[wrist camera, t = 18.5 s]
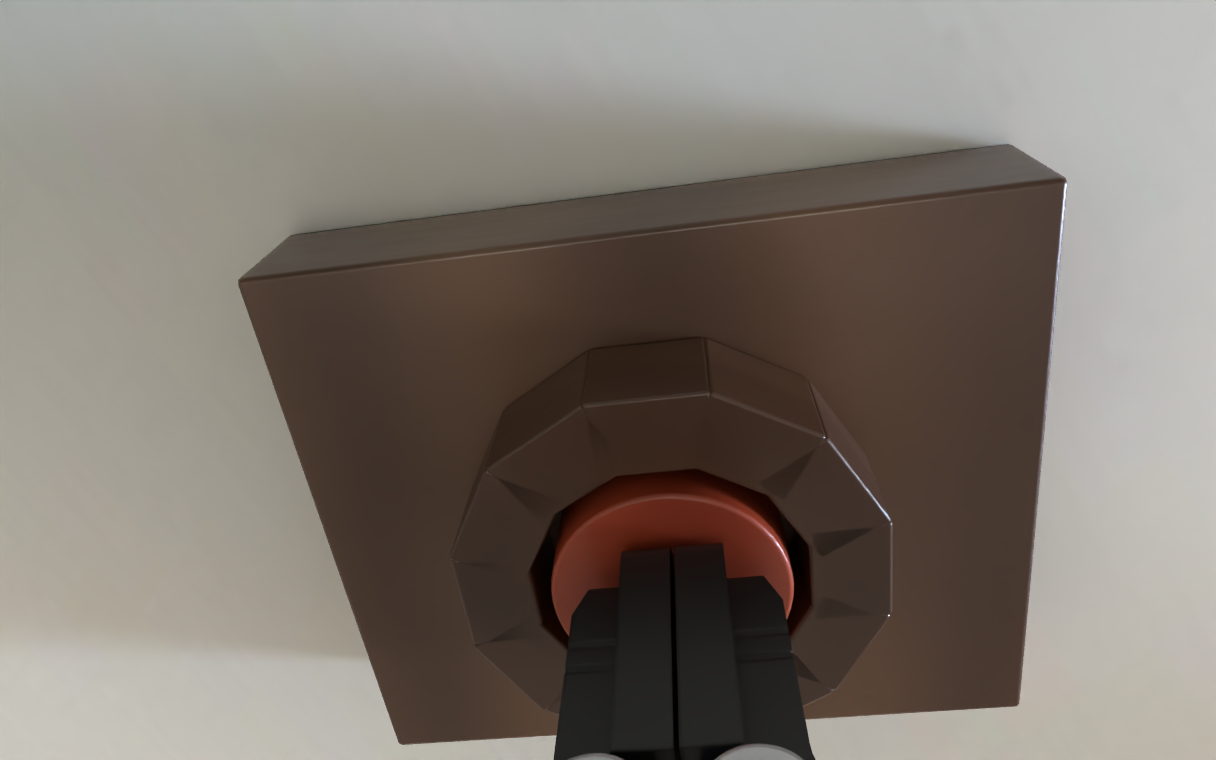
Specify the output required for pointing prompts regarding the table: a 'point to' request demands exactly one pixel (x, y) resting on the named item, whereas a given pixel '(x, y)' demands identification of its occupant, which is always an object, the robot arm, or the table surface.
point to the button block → (683, 417)
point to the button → (666, 531)
